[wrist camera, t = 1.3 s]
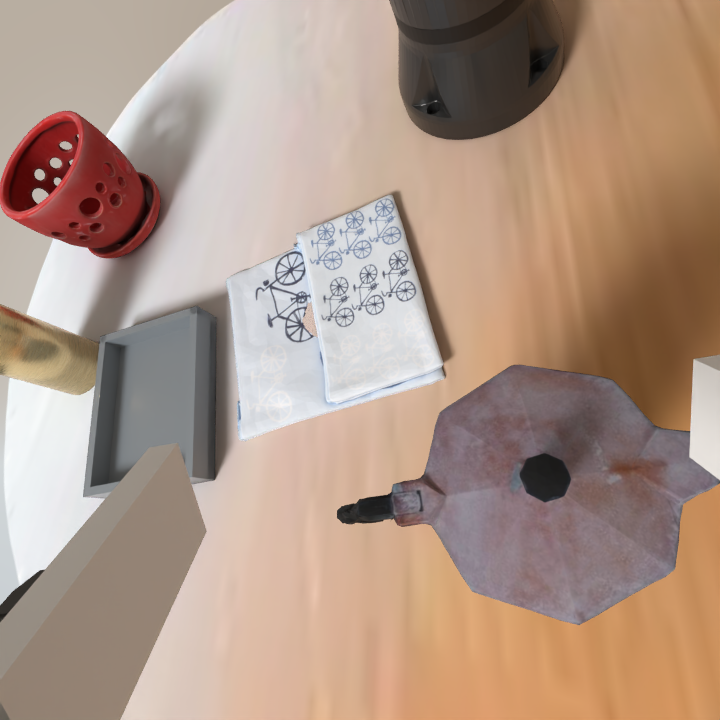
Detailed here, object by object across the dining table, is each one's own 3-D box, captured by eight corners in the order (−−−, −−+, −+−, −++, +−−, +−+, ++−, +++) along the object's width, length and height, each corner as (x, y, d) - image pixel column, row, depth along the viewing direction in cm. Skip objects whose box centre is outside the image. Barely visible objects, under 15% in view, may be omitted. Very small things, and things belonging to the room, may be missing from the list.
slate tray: (122, 345, 54) (100, 336, 51) (216, 317, 50) (196, 305, 47) (109, 498, 48) (82, 496, 45) (214, 480, 44) (192, 476, 41)
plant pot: (121, 174, 64) (34, 105, 54) (187, 186, 58) (104, 111, 48) (73, 259, 62) (-26, 205, 52) (137, 281, 56) (40, 224, 46)
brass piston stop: (66, 348, 57) (-95, 290, 43) (107, 335, 55) (-48, 270, 41) (60, 400, 55) (-113, 356, 41) (102, 388, 53) (-65, 338, 39)
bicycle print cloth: (451, 380, 39) (445, 373, 37) (241, 445, 45) (227, 441, 43) (400, 200, 46) (393, 186, 45) (226, 274, 52) (213, 265, 50)
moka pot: (685, 559, 29) (868, 605, 12) (443, 601, 34) (313, 681, 16) (622, 411, 33) (690, 280, 16) (412, 466, 37) (279, 412, 20)
